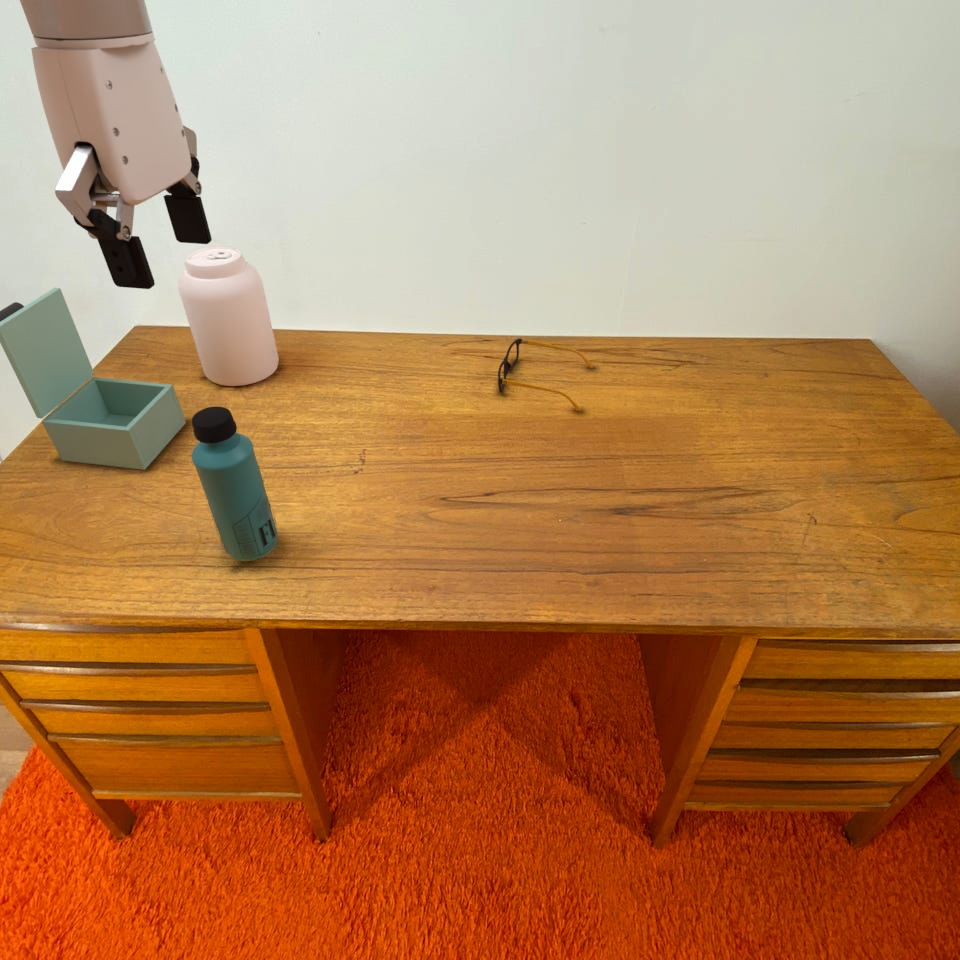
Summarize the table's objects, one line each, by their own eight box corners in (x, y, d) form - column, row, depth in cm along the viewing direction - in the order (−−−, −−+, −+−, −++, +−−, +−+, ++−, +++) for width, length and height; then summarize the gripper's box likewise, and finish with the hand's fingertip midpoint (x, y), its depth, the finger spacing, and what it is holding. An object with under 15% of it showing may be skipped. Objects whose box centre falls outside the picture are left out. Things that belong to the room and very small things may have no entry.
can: (264, 344, 117) (239, 233, 104) (291, 373, 109) (268, 258, 96) (194, 363, 111) (159, 249, 98) (218, 396, 103) (183, 276, 90)
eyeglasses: (512, 356, 115) (513, 336, 112) (592, 368, 112) (595, 347, 109) (492, 398, 104) (493, 376, 102) (580, 412, 101) (583, 390, 99)
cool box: (186, 422, 98) (173, 384, 93) (144, 470, 89) (128, 430, 84) (110, 414, 99) (93, 376, 95) (61, 460, 90) (41, 421, 86)
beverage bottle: (274, 572, 75) (234, 434, 62) (218, 570, 75) (166, 432, 62) (288, 532, 80) (253, 397, 67) (235, 531, 80) (190, 396, 67)
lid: (60, 288, 86) (20, 283, 86) (-2, 327, 77) (-47, 322, 77) (94, 374, 94) (58, 369, 95) (42, 418, 86) (2, 413, 86)
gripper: (112, 5, 50) (177, 225, 62) (-60, 29, 37) (62, 303, 49) (201, 7, 50) (251, 230, 61) (58, 33, 37) (154, 311, 48)
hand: (167, 262), depth 55 cm, fingers open, 9 cm apart
